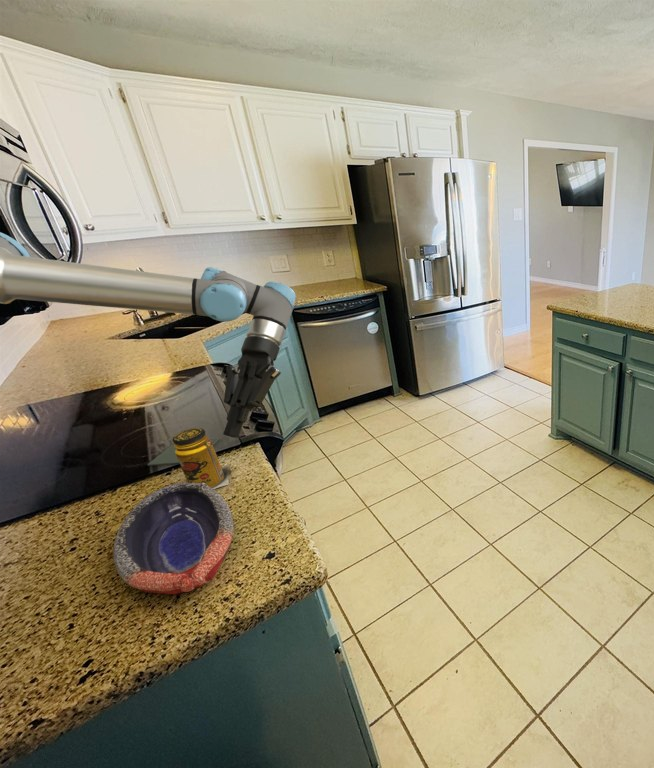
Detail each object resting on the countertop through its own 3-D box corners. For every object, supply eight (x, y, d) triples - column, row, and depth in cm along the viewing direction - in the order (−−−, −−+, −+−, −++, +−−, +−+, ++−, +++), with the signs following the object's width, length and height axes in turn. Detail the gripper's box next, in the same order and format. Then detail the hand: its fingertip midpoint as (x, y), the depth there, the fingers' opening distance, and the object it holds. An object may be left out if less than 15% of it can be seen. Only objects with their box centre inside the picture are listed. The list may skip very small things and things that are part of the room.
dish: (222, 485, 84) (214, 465, 82) (254, 578, 63) (245, 554, 61) (123, 521, 75) (112, 499, 73) (121, 644, 54) (105, 618, 52)
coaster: (147, 466, 91) (147, 464, 91) (176, 442, 101) (175, 441, 100) (194, 462, 92) (194, 461, 92) (219, 439, 101) (218, 438, 101)
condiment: (185, 497, 81) (163, 446, 76) (190, 476, 88) (170, 427, 83) (228, 485, 84) (210, 435, 80) (230, 465, 91) (213, 418, 86)
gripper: (296, 349, 102) (268, 441, 93) (250, 347, 104) (218, 438, 95) (277, 335, 95) (244, 433, 86) (228, 333, 97) (191, 429, 88)
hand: (230, 435), depth 91 cm, fingers closed
